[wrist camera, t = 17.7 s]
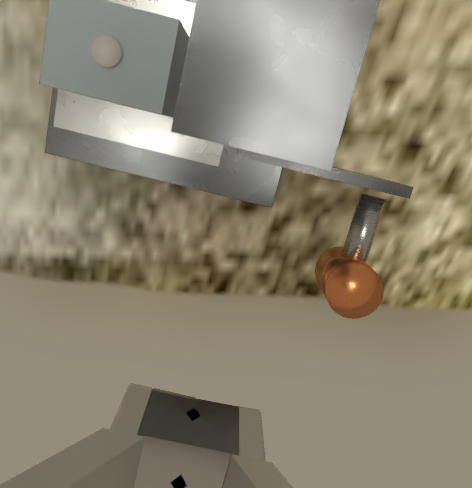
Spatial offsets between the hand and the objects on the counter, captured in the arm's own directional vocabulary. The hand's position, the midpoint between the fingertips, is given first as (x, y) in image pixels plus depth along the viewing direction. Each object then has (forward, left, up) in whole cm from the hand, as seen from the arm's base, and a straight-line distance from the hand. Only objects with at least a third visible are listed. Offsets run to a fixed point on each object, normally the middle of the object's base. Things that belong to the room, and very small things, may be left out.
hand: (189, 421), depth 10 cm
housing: (-9, +9, -23) cm, 26 cm away
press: (-3, +9, -24) cm, 26 cm away
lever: (+7, +2, -17) cm, 19 cm away
